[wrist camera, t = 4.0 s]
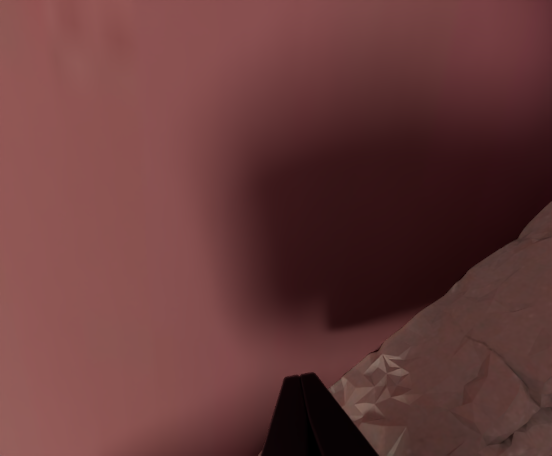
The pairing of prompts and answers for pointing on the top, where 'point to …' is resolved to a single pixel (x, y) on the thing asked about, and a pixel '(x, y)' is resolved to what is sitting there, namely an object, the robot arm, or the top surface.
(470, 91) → the top surface
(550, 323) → the brick
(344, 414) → the robot arm
